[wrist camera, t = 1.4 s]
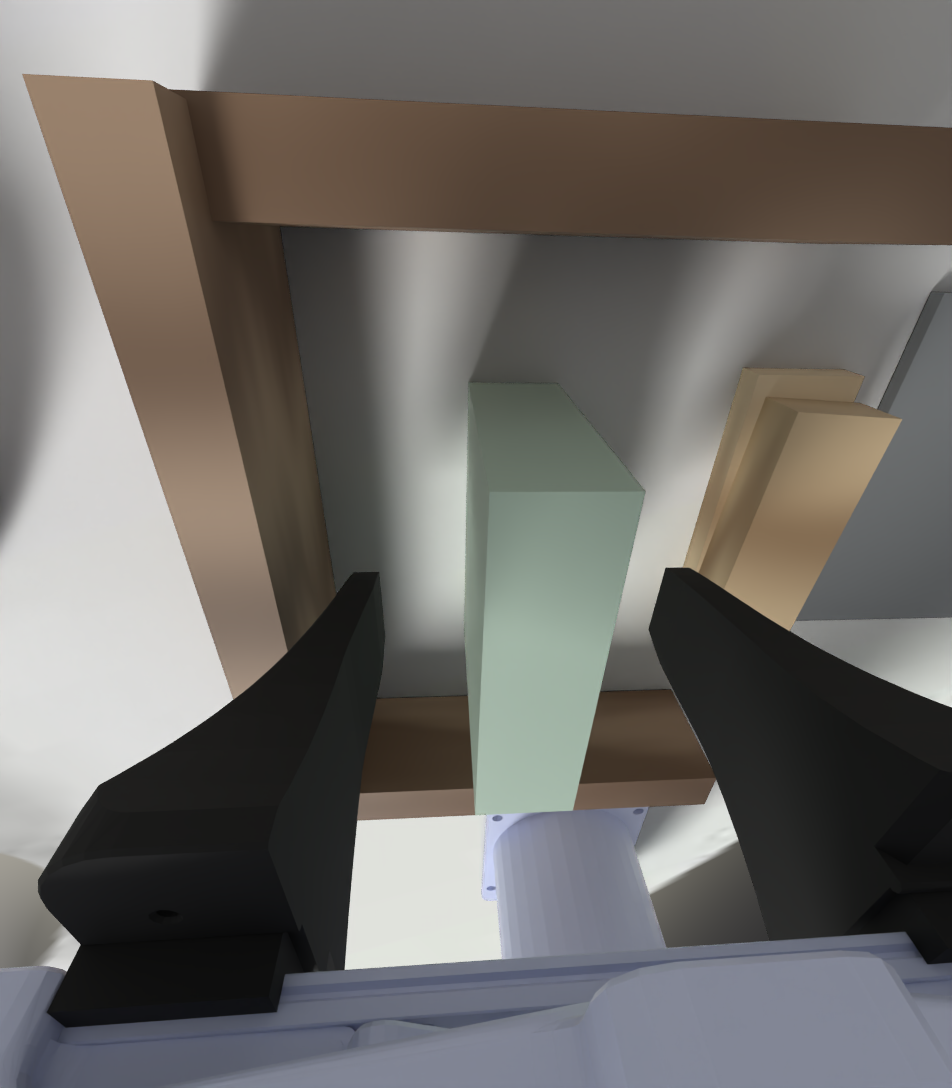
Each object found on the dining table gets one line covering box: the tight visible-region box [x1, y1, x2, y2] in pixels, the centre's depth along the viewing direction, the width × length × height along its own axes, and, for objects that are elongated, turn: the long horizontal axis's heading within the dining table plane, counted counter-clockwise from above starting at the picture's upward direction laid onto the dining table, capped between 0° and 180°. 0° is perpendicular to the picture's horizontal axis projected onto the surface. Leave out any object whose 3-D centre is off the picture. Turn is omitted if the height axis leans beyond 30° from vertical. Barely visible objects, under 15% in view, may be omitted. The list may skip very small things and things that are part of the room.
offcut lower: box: [683, 368, 865, 573], centre depth 17 cm, size 10×3×2 cm, turn 178°
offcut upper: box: [699, 397, 902, 631], centre depth 15 cm, size 8×3×2 cm, turn 176°
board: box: [464, 382, 645, 815], centre depth 13 cm, size 9×2×7 cm, turn 179°
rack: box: [22, 74, 952, 821], centre depth 14 cm, size 19×15×5 cm
